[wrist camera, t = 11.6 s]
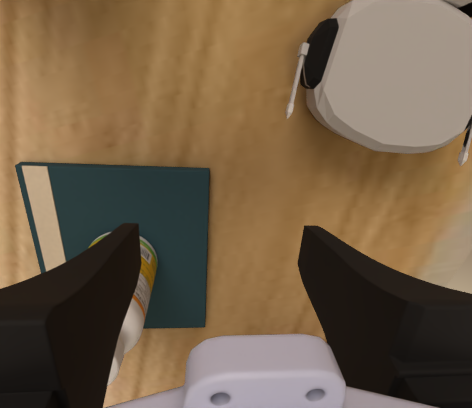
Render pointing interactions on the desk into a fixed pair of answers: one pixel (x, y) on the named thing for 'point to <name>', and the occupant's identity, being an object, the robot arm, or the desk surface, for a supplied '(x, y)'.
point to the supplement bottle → (135, 306)
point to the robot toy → (392, 74)
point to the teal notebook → (127, 211)
